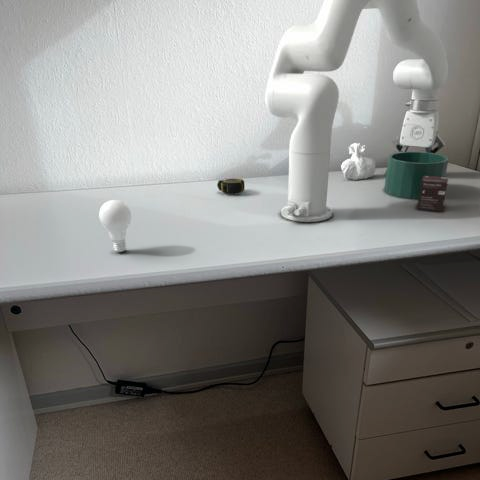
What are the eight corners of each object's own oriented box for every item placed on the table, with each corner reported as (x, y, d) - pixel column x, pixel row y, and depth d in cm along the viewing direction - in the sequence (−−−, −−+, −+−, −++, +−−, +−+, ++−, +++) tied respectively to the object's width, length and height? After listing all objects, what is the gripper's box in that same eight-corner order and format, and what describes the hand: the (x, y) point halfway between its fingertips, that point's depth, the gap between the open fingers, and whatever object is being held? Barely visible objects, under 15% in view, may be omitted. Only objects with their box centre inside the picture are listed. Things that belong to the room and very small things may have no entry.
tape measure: (238, 189, 147) (238, 176, 145) (248, 194, 141) (248, 181, 139) (217, 191, 144) (216, 178, 143) (226, 197, 139) (225, 184, 137)
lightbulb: (137, 246, 107) (131, 195, 102) (133, 257, 102) (126, 204, 96) (108, 246, 107) (100, 196, 102) (102, 258, 102) (93, 205, 96)
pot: (434, 202, 131) (441, 166, 127) (376, 194, 139) (380, 159, 134) (448, 189, 143) (454, 154, 138) (393, 182, 150) (398, 149, 146)
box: (416, 209, 126) (421, 180, 123) (418, 203, 131) (423, 175, 127) (441, 212, 124) (447, 182, 121) (443, 205, 129) (448, 177, 125)
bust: (371, 182, 159) (362, 150, 160) (384, 171, 152) (374, 137, 153) (338, 186, 156) (330, 153, 157) (349, 175, 148) (340, 140, 150)
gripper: (390, 106, 148) (383, 167, 157) (451, 109, 140) (439, 173, 148) (398, 103, 153) (390, 163, 162) (457, 106, 145) (445, 168, 154)
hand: (414, 167), depth 155 cm, fingers open, 6 cm apart
